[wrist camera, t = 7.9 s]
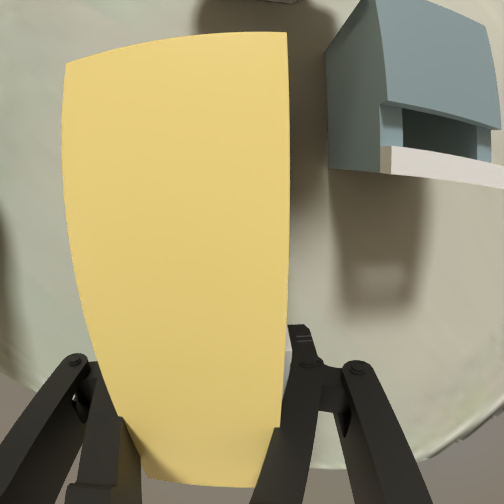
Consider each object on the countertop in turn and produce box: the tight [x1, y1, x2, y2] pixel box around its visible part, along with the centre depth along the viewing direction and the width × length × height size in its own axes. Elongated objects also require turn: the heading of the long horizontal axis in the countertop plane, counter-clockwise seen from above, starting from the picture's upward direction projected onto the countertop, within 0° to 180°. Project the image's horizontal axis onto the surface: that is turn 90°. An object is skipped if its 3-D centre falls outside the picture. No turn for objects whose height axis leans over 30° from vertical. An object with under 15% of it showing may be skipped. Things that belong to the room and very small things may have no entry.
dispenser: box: [325, 0, 504, 189], centre depth 19 cm, size 9×12×14 cm
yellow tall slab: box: [62, 32, 290, 487], centre depth 13 cm, size 5×14×12 cm, turn 1°
